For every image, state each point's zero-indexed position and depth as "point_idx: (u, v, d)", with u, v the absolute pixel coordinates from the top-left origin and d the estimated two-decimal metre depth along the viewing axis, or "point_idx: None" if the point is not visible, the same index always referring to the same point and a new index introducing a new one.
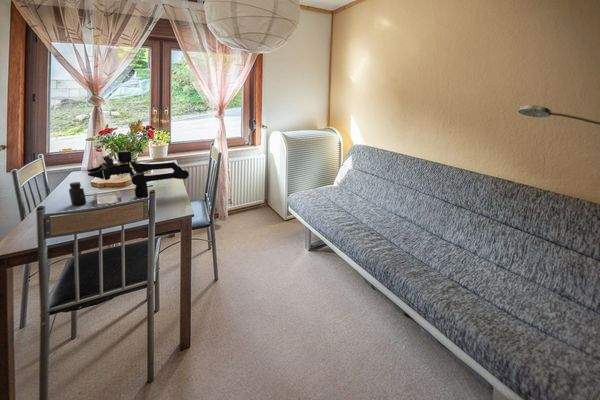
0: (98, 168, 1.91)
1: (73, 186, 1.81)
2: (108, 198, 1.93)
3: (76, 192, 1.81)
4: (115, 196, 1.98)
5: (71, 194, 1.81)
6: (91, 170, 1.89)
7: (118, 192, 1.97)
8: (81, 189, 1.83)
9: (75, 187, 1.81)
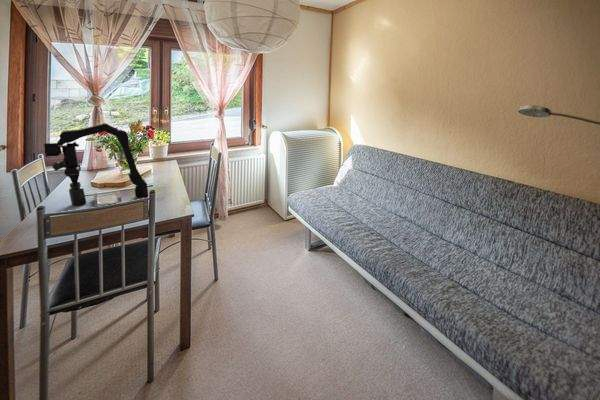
0: None
1: (73, 186, 1.81)
2: (108, 198, 1.93)
3: (76, 192, 1.81)
4: (115, 196, 1.98)
5: (71, 194, 1.81)
6: None
7: (118, 192, 1.97)
8: (81, 189, 1.83)
9: (75, 187, 1.81)
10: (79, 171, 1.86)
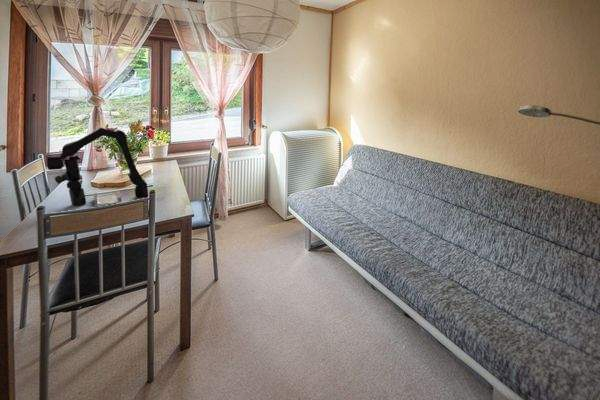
0: None
1: None
2: (108, 198, 1.93)
3: None
4: (115, 196, 1.98)
5: (71, 194, 1.81)
6: None
7: (118, 192, 1.97)
8: (81, 189, 1.83)
9: None
10: (81, 184, 1.87)
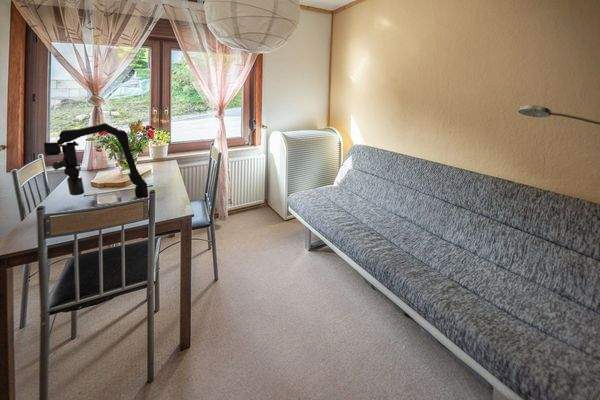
0: None
1: None
2: (108, 198, 1.93)
3: None
4: (115, 196, 1.98)
5: (69, 183, 1.79)
6: None
7: (118, 192, 1.97)
8: (79, 178, 1.81)
9: None
10: None
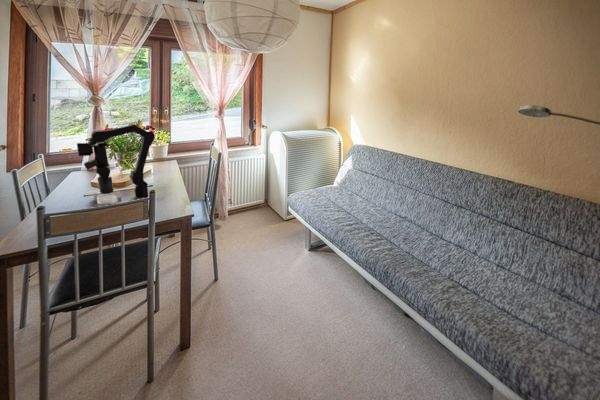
0: None
1: None
2: (108, 198, 1.93)
3: None
4: (115, 196, 1.98)
5: (100, 182, 1.85)
6: None
7: (118, 192, 1.97)
8: (109, 178, 1.88)
9: None
10: None
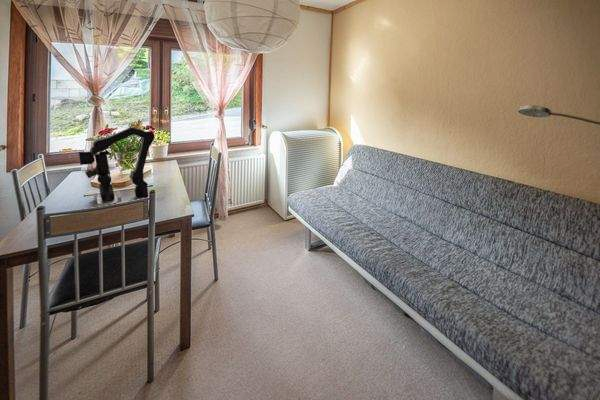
0: None
1: None
2: None
3: None
4: (115, 196, 1.98)
5: (101, 189, 1.87)
6: None
7: (118, 192, 1.97)
8: (110, 184, 1.89)
9: None
10: None
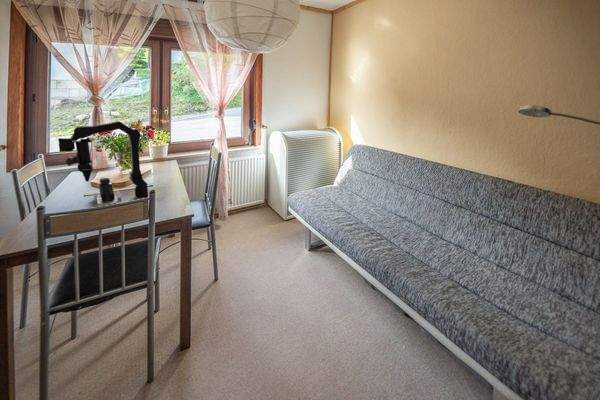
0: None
1: (103, 182, 1.86)
2: None
3: (106, 187, 1.87)
4: (115, 196, 1.98)
5: (101, 189, 1.87)
6: None
7: (118, 192, 1.97)
8: (110, 184, 1.89)
9: (105, 183, 1.87)
10: None
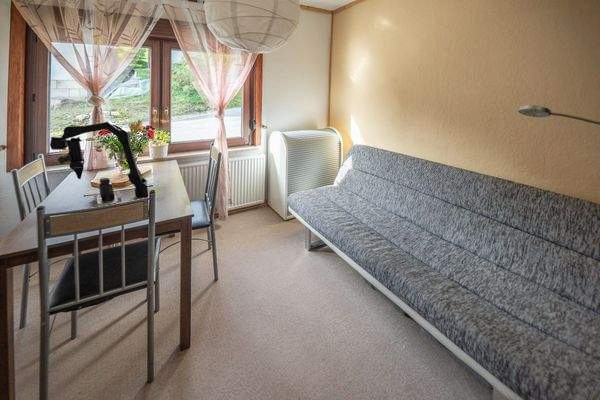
0: None
1: (103, 182, 1.86)
2: None
3: (106, 187, 1.87)
4: (115, 196, 1.98)
5: (101, 189, 1.87)
6: None
7: (118, 192, 1.97)
8: (110, 184, 1.89)
9: (105, 183, 1.87)
10: None
